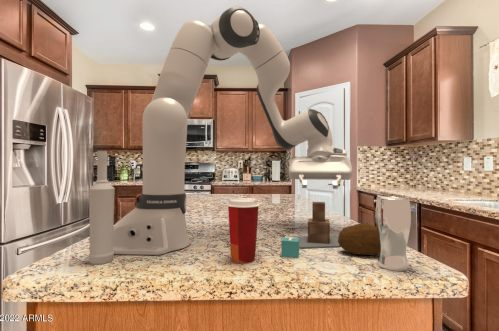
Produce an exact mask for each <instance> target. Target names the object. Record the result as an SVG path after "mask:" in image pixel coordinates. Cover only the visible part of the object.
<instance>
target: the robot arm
mask: <svg viewBox="0 0 499 331" xmlns="http://www.w3.org/2000/svg"><path fill="white" fill-rule="evenodd" d="M239 53H241V55H244V57H245V58H247V59H248V60H249V63H250V64H251V66H252V68H253V70H254V71H255V74H256V76H257V80H258V81H257V82H258V83H257V85H256V93H257V94H256V95H257V96H258V99H259V101H260V102H259V103H260V105H261V107H262V109H263V112H264V114H265V117H266V119H267V121H268V124H269V126H270V128H271V132H272V135H273V137H274V138H273V139H274V140H275V144H277V145H278V147H280V148H283V149H284V150H291V149H294V148H295V147H296V146H298V145H300V144H302V143H305V142H307V146H308V147H307V150H306V156H293V157H291V158H290V159H289V160H288V166H289V167H288V177H289V179H291V180H298V181H299V183H300V184H301V188H302V189H307V188H308V184H307V183H308V181H307V180H318V181H320V180H325V181H326V180H329V181H332V190H333V189H334V190H338V188H339V185H340V184H341V182H342V181H350V180H351V179H352V178H353V166H352V163H351V160H350V157H348V156H347V155H348V153H347V150H346V149H343V148H339V147H334V146H333V134H332V132H331V128H330V126H329V123H328V121H327V119H326V117H325V116H324V115H323V113H322V112H320V111H319V110H317V109H316V110H315V109H312V108H309V109H307V110H305V111H303V112H301V113H297V115H295V116H293V117H291V118H288V119H287V120H284V119H283V118H282V116H281V113H280V110H279V108H278V105H277V103H276V100H275V99H276V98H275V97H276V93H277V92H278V90H279V89H280V88H281V87H282V86H283V84H284V83H285V82H286V80H287V78H288V77H289V75H290V71H291V62H290V60H289V57H288V55H287V53H286V52H285V49H284V48H283V46H282V45H281V43H280V41H279V40H278V39H277V38H276V36H275V35H274V33H273V32H272V31H271V30H270V29H269V27H268V26H267V25H265V24H264V23H258V21H257V20H256V19H255V17H254V16H253V14H252V13H250V12H249V11H248V10H247V9H246V8H244V7H241V6H233V7H230V8H227V9H226V10H225V11H223V12H222V13H221V15H219V17H217V18H216V19H215V20H214V21H213V22H212V23H211V24H210V25H209V24H206V23H204V22H202V20H201V21H200V20H197V19H190V20H187V21H185V22H184V23H183V24H182V26H181V28H180V29H179V30H178V32H177V33H176V36H175V38H174V40H173V42H172V44H171V46H170V48H169V52H168V53H167V56H166V58H165V60H164V64H163V66H162V69H161V71H160V73H159V77H158V79H157V83H156V86H155V89H154V92H153V95H152V98H151V101H150V102H149V103H148V104H147V105H146V107H145V108H144V111H143V113H142V193H139V194H137V195H136V196H135V197H134V198H133V200H134V201H133V203H134V207H135V208H133V209H132V210H131V211H129V212H128V213H127V214H125V216H123V217H122V218H121V219H119V220H118V221H117V222H116V223H115V224H113V251H114V255H138V256H140V255H142V256H143V255H144V256H145V255H146V256H151V255H152V256H153V255H155V256H159V255H163V254H164V255H165V254H167V253H169V252H174V251H177V250H180V249H184V248H186V247H189V246H190V245H191V240H190V238H189V234H188V229H187V221H186V212H187V193H185V176H186V175H185V170H186V168H185V165H186V151H187V138H188V135H187V134H188V117H189V115H190V112H191V110H192V107H193V104H194V102H195V100H196V97H197V95H198V93H199V89H200V88H201V84H202V82H203V79H204V76H205V74H206V72H207V68H208V65H209V63H210V59H212V60H215V61H219V62H220V61H221V62H222V61H226V60H229V59H230V58H232V57H233V56H235V55H238V54H239Z"/></svg>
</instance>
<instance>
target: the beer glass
mask: <svg viewBox="0 0 499 331" xmlns="http://www.w3.org/2000/svg"><path fill="white" fill-rule="evenodd" d="M410 201H411V198H408V197H405V196H403V197H401V196H386V195H385V196H376V202H375V203H376V206H375V225H376V228H377V234H378V239H379V247H380V251H379V254H378V258H377V266H378V267H380V268H382V269H384V270H389V271H394V272H404V271H407V270H409V263H408V258H407V257H408V256H407V247H408V243H409V236H410V231H411V224H412V211H411V202H410Z"/></svg>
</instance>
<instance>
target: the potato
mask: <svg viewBox="0 0 499 331" xmlns="http://www.w3.org/2000/svg"><path fill="white" fill-rule="evenodd" d="M338 236H339V237H338V243H339V245H340V246H341V247H340V248H342V250H344V251H345V252H348V253H350V254H354V255H367V256H368V255H369V256H375V255H379V251H380V247H379V239H378V234H377V228H376V226H375V225H373V224H370V223H367V222H360V223H356V224H353V225H348V226H346V227H343V228H342V229H341V230H340V232H339V234H338Z"/></svg>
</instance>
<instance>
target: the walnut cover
mask: <svg viewBox="0 0 499 331" xmlns="http://www.w3.org/2000/svg"><path fill="white" fill-rule="evenodd" d="M311 206H312V207H311V208H312V210H311V211H312V212H311V213H312V215H311V218H310V217H309V218H307V236H308V243H323V244H330V235H331V234H330V232H331V222H330V219H328V218H326V202H325V201H312V205H311Z"/></svg>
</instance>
